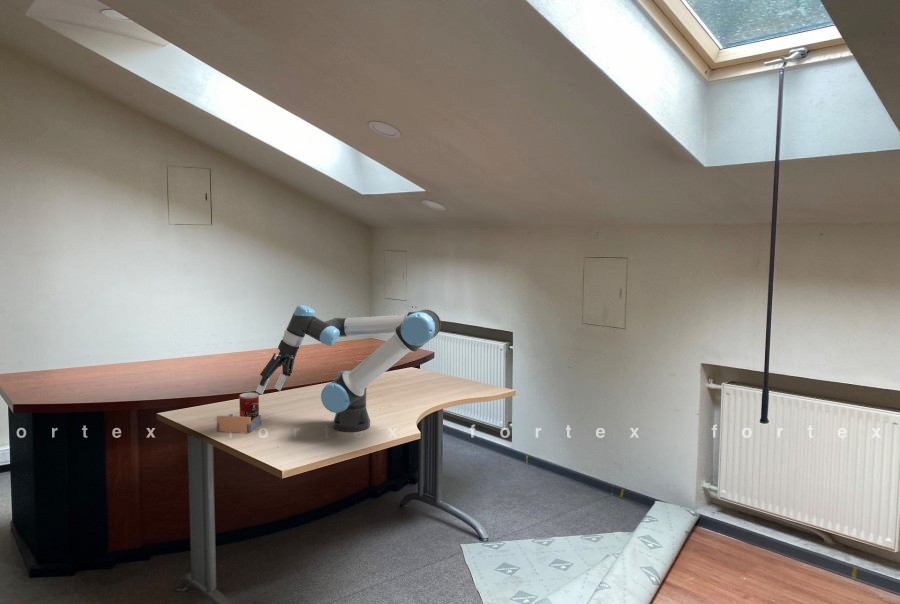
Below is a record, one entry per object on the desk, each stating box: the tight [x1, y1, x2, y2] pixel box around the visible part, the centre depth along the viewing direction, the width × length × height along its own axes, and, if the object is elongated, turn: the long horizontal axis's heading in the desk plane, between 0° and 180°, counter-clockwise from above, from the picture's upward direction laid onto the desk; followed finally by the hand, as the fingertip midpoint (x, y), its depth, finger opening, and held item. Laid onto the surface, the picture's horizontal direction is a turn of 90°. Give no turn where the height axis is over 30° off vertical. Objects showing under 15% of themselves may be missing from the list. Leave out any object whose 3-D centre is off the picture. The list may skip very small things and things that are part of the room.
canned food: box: [239, 392, 260, 421], centre depth 259 cm, size 8×8×11 cm
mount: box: [216, 413, 262, 434], centre depth 249 cm, size 13×12×6 cm
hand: (268, 390), depth 243 cm, fingers open, 13 cm apart
